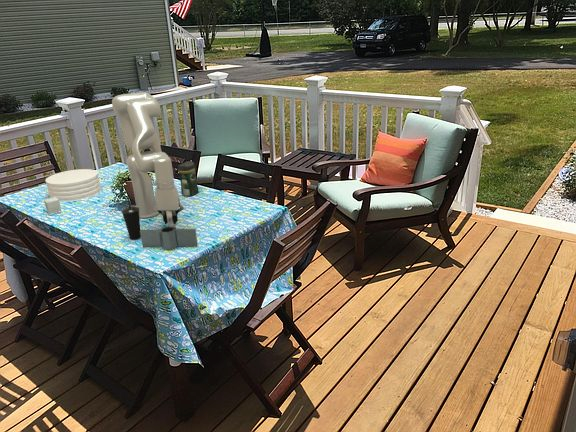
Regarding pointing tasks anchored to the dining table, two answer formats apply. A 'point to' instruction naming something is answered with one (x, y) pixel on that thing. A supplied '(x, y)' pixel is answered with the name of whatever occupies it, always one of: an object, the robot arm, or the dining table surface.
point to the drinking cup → (132, 221)
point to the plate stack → (73, 184)
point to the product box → (52, 205)
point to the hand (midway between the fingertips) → (171, 222)
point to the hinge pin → (170, 218)
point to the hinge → (169, 238)
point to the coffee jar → (188, 178)
